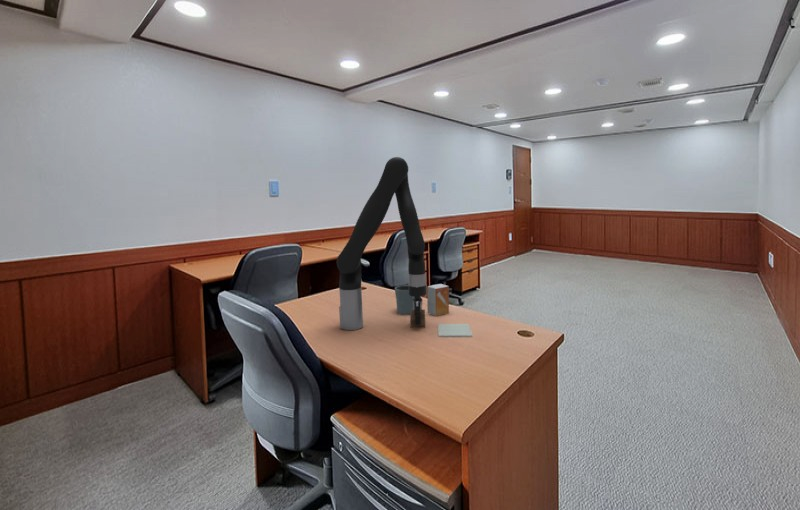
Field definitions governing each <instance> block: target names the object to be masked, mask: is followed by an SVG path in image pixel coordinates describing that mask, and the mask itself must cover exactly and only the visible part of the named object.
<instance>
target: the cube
mask: <svg viewBox="0 0 800 510" xmlns="http://www.w3.org/2000/svg"><path fill="white" fill-rule="evenodd" d="M425 310H426V309H422V311H421V324H420V325H416V324H415V315H414V314H415V312H414V310H411V313H410V314H409V316H410V317H409V319H410V328H411V329H412V328H423V329H424V328H426V311H425ZM416 313H419V311H416Z"/></svg>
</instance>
